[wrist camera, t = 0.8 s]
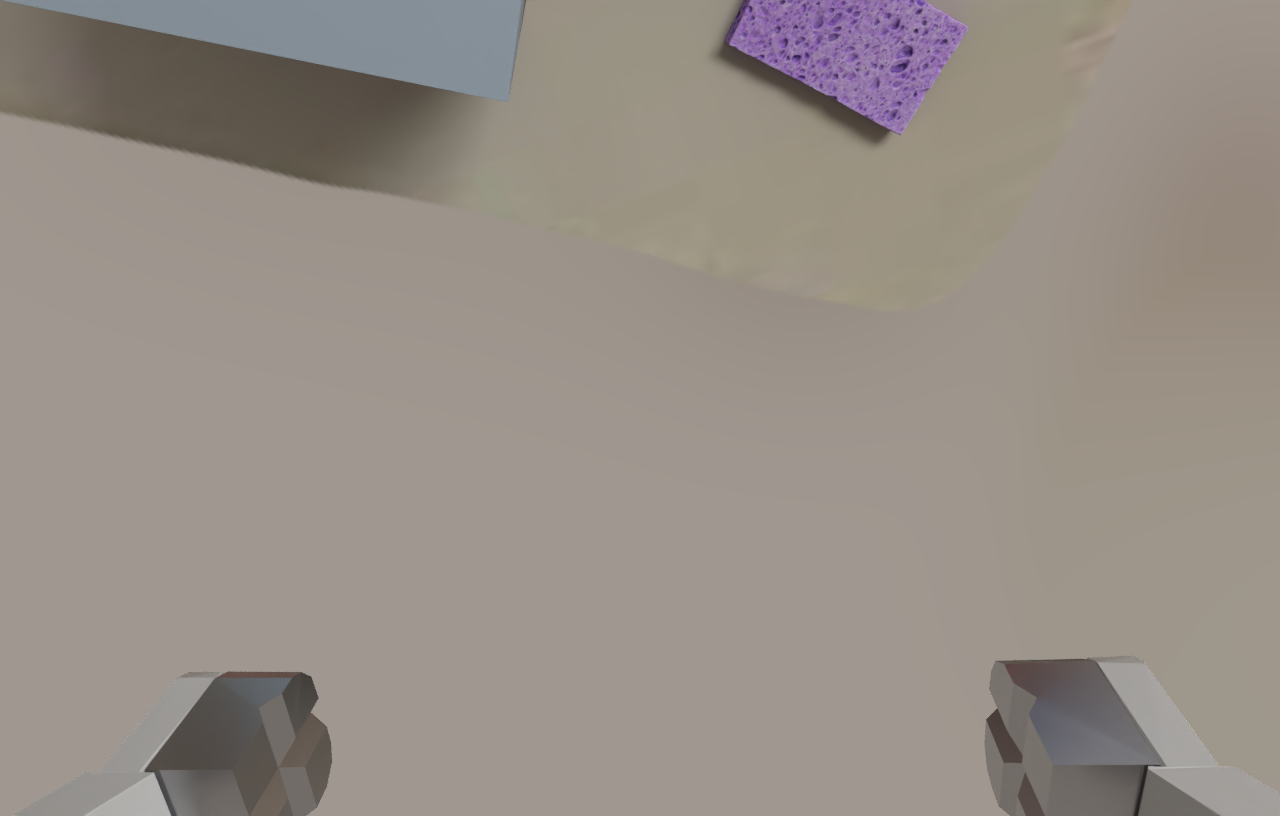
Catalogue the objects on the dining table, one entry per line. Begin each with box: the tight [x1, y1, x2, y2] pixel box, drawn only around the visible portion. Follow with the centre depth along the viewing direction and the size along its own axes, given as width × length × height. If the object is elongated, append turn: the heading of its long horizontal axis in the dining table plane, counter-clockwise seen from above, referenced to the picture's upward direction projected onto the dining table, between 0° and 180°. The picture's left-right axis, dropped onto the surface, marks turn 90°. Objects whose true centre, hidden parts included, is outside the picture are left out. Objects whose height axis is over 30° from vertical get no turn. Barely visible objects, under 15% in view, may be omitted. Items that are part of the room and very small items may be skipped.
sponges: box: [725, 0, 969, 135], centre depth 50 cm, size 7×13×2 cm, turn 64°
